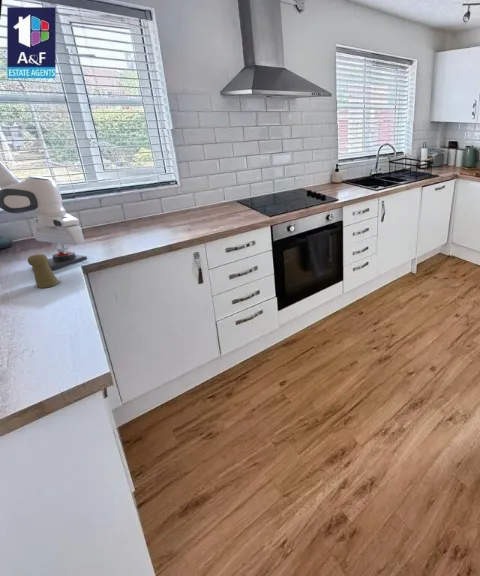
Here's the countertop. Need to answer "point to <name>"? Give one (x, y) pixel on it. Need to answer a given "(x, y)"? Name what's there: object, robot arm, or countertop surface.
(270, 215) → the countertop surface
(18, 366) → the countertop surface
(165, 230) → the countertop surface
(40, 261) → the olive brown upright piece
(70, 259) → the dark grey base
